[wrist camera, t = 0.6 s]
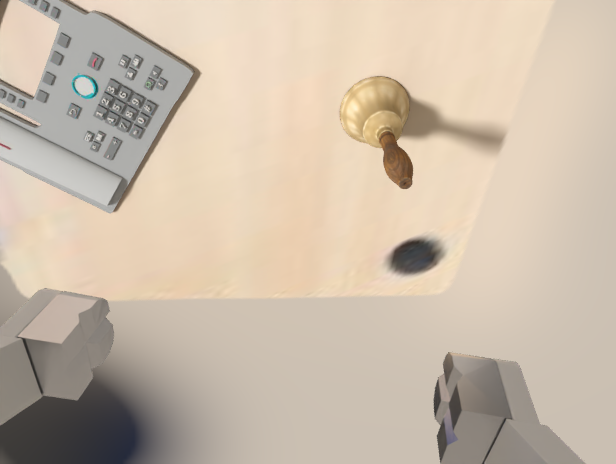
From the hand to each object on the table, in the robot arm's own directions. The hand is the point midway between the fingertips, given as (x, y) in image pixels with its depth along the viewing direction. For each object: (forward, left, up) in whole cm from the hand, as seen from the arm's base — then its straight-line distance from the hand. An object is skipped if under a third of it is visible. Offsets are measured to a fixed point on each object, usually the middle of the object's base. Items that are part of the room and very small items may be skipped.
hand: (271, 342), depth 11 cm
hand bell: (+17, -2, -44) cm, 48 cm away
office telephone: (-9, -25, -45) cm, 52 cm away
